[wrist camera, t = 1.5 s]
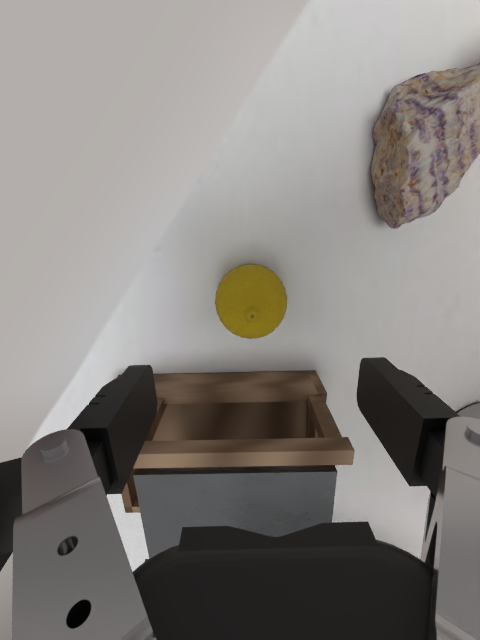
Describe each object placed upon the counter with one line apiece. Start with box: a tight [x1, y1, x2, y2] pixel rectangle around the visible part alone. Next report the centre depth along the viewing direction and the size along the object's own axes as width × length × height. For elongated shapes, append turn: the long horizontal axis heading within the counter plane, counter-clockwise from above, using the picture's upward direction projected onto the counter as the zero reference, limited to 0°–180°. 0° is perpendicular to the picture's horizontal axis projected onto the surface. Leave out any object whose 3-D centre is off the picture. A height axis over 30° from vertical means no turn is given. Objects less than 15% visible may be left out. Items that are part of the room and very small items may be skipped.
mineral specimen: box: [371, 63, 480, 229], centre depth 19 cm, size 13×7×6 cm, turn 153°
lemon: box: [215, 264, 287, 339], centre depth 22 cm, size 6×6×8 cm
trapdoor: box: [133, 465, 337, 558], centre depth 22 cm, size 14×10×2 cm
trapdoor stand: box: [116, 371, 354, 562], centre depth 26 cm, size 20×14×10 cm
